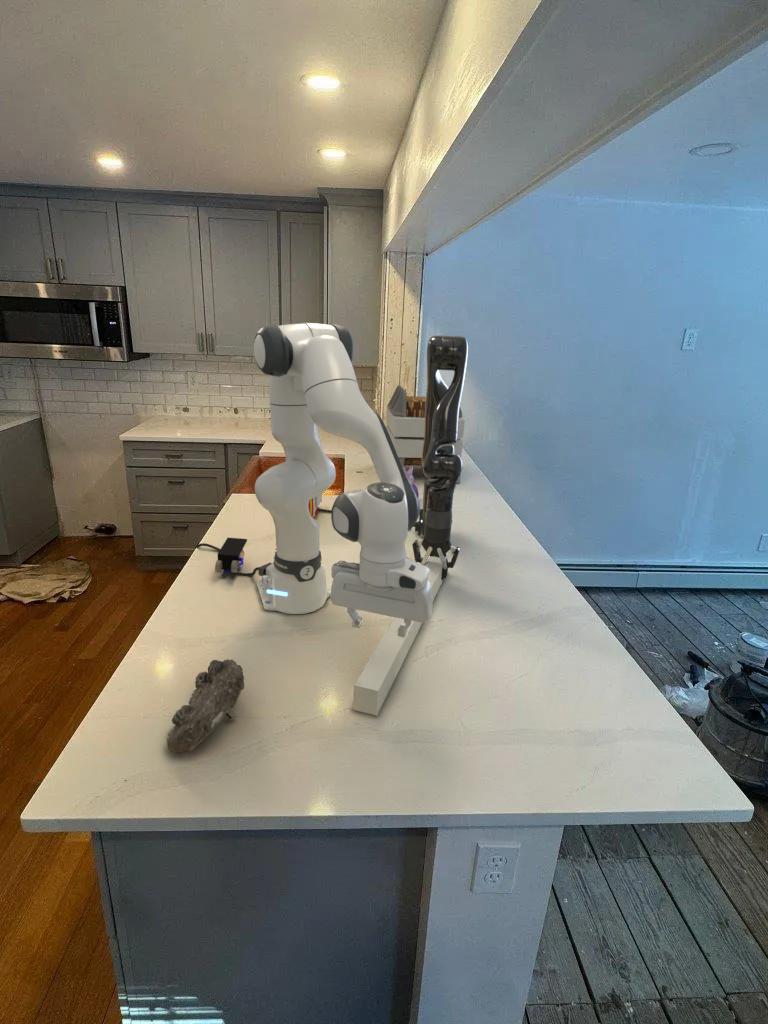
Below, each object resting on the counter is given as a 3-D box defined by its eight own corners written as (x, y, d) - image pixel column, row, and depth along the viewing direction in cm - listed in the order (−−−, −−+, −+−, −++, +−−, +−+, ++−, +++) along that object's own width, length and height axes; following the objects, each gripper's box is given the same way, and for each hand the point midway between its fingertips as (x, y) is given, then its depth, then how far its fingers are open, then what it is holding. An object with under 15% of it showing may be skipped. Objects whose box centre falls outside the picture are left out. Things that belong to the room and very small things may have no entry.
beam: (430, 570, 173) (432, 552, 171) (446, 573, 172) (448, 555, 170) (353, 710, 112) (353, 685, 110) (377, 715, 110) (378, 690, 108)
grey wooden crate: (382, 463, 289) (386, 382, 275) (445, 464, 293) (451, 384, 279) (390, 482, 257) (394, 392, 243) (460, 483, 261) (468, 394, 247)
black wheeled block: (238, 584, 162) (249, 557, 175) (236, 562, 158) (247, 536, 172) (215, 584, 161) (227, 556, 175) (212, 561, 158) (225, 535, 171)
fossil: (192, 660, 117) (244, 628, 112) (224, 691, 120) (276, 661, 115) (142, 746, 98) (202, 712, 93) (182, 779, 101) (242, 748, 96)
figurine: (404, 507, 227) (406, 470, 222) (392, 499, 235) (393, 464, 230) (424, 504, 231) (426, 468, 226) (411, 496, 239) (413, 462, 234)
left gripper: (325, 565, 108) (324, 628, 113) (429, 584, 103) (424, 649, 107) (337, 553, 114) (336, 613, 119) (437, 570, 108) (432, 632, 113)
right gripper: (410, 523, 158) (406, 578, 164) (461, 531, 154) (455, 587, 160) (416, 515, 165) (413, 568, 171) (465, 522, 161) (460, 576, 167)
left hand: (379, 630), depth 113 cm, fingers open, 8 cm apart
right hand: (433, 577), depth 165 cm, fingers closed on beam, 5 cm apart
